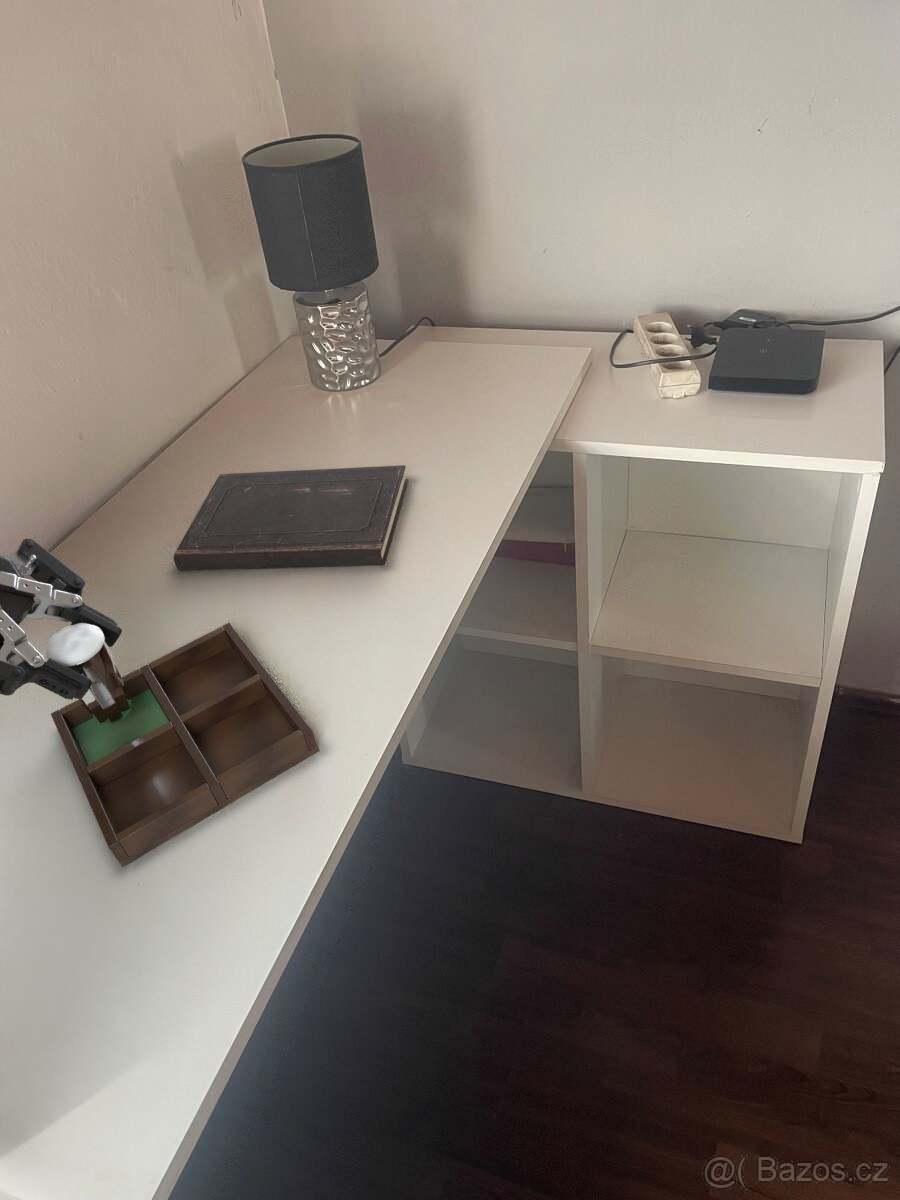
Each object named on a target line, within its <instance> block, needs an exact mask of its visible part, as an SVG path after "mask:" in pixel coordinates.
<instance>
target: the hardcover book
mask: <svg viewBox="0 0 900 1200" xmlns="http://www.w3.org/2000/svg"><path fill="white" fill-rule="evenodd" d="M406 468H407V467H406V465H383V466H382V465H381V466H380V465H379V466H363V467H362V466H361V467H360V466H359V467H341V468H339V467H338V468H324V469H323V468H321V469H298V470H278V471H277V470H276V471H259V472H258V471H255V472H239V473H238V472H236V473H235V472H233V473H219V474H218V476H217V478H216V480H215V481H214V483H213V485H212V486H211V488H210V490H209V492H208V494H207V495H206V497H205V499H204V501H203V502H202V504H201V505H200V508H199V509H198V511H197V513H196V514H195V517H194V518H193V520H192V522H191V523H190V525H189V527H188V529H187V531H186V532H185V534H184V536H183V537H182V539H181V541H180V542H179V544H178V547H177V548H176V550H175V552H174V553H173V562H174V565H175V567H176V569H177V570H178V571H181V572H183V571H220V570H221V571H222V570H223V571H224V570H258V569H259V570H261V569H262V570H263V569H294V568H295V569H296V568H297V569H298V568H299V569H300V568H302V569H303V568H334V567H337V568H339V567H370V566H371V567H373V566H375V567H377V566H378V567H379V566H385V565H386V563H387V562H386V561H387V558H388V555H389V551H390V548H391V544H392V541H393V537H394V534H395V530H396V527H397V523H398V519H399V516H400V512H401V508H402V505H403V501H404V498H405V496H406V495H405V494H406V492H407V491H406V490H407V487H408V484H409V479H406V478H405V475H404V474H405V471H406Z"/></svg>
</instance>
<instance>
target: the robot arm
mask: <svg viewBox="0 0 900 1200" xmlns="http://www.w3.org/2000/svg"><path fill="white" fill-rule="evenodd" d="M27 575H28V576H29V577H31V578H32V579H28V578H24V577H26V576H27ZM23 576H24V577H23ZM85 586H86V581H85V579H84V578H83V577H81V575H79V574H77V573H76V572H75V571H74V570H72V569H71V568H70V567H69V566H68V565H66V564H65V563H64V562H62V561H61V560H60V559H58V558H57V557H56V556H55V555H53V554H52V553H51V552H49V550H47V549H46V548H45V547H43V546H42V545H41V544H39V543H38V542H37V541H36V540H34V539H32V538H24V539H23V540H22V541H21V542H20V545H19V546H18V547H17V549H16V550H15V551H13V552H11V554H9V555H8V556H4V555H0V695H3V696H5V697H6V696H7V697H8V696H12V695H13V694H15V692H16V691H17V690H18V689H20V688H21V687H23V686H24V685H26V684H35V685H38V686H40V687H41V688H43V689H46V690H48V691H49V692H51V693H53V694H56V695H58V696H59V697H61V698H63V699H66V700H70V701H71V700H73V699H76V700H78V699H82V698H83V697H84V695H85V694H86V693H87V691H88V690H89V688H90V687H91V685H92V681H91V680H90V679H89V678H87V677H85V676H84V675H82V674H80V673H78V672H76V671H74V670H72V669H70V668H68V667H66V666H64V665H62V664H60V663H59V662H57V661H55V660H53V659H51V658H49V659H48V660H46V659H45V658H44V657H45V656H44V655H43V654H41V652H40V651H38V650H37V649H36V648H35V646H33V645H32V643H31V642H30V641H29V639H28V636H27V634H26V632H25V631H24V630H23V629H22V628H21V627H20V625H21V624H22V622H24V620H25V618H27V619H32V620H41V619H49V620H54V621H59V622H64V623H70V625H75V624H79V623H87V624H91V625H95V626H97V627H99V628H100V629H101V630H102V632H103V634H104V636H105V639H106V642H107V644H108V647H109V648H112V647H113V646H114V645H115V643H117V641H118V639H119V638H120V636H121V634H122V632H123V629H122V628H121V627H120V626H119V624H118V623H117V622H116V620H114V619H113V618H111V617H109V616H107V615H106V614H104V613H102V612H100V611H99V610H97V609H94V608H93V607H91V606H89V605H88V604H86V603H85V602H84V600H83V589H84V588H85ZM42 655H43V656H44V657H43V656H42Z"/></svg>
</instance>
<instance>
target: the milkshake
mask: <svg viewBox="0 0 900 1200" xmlns="http://www.w3.org/2000/svg"><path fill="white" fill-rule="evenodd" d="M45 650H46V651H45V655H43V654H41V655H42V656H43V657H44V659H45V661H48V659H49V658H51V659H53V660H55V661H57V662H59V663H60V664H62V665H64V666H66V667H68V668H70V669H72V670H74V671H76V672H78V673H80V674H82V675H84V676H85V677H87V678H89V679H90V680H91V681H92V685H91V687H90V688H89V690H88V691H87V693H86V694H85V695H84V697H83V698H82V699H80V701H81V702H82V703H83V705H84V706H85V707H86V709H87V710H88V711H89V713H90V714H91V715H92V717H93V718H94V719H95V720H96V721H98V722H99V723H100V724H114V723H115V722H117V721H119V720H122V719H124V718H125V716H126V715H127V714H128V713H129V712H130V710H131V699H130V696H129V694H128V692H127V689H126V687H125V685H124V682H123V680H122V675H121V674H120V671H119V669H118V667H117V664H116V661H115V660H114V657H113V655H112V652H111V649H110V647H108V644H107V642H106V639H105V636H104V634H103V632H102V630H101V629H100V628H99V627H97V626H95V625H91V624H87V623H79V624H75V625H71V624H70V625H66V626H64V627H63V628H61V629H59V630H58V631H56V632H55V633H53V634H52V635H51V636H50V637H49V639H48V641H47V645H46V649H45Z"/></svg>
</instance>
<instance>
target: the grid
mask: <svg viewBox="0 0 900 1200" xmlns="http://www.w3.org/2000/svg"><path fill="white" fill-rule="evenodd" d="M121 678H122V680H123V682H124V685H125V687H126V689H127V692H128V694H129V696H130V699H131V710H130V712H129V713H128V714H127V715H126V716H125V718H124V719H122V720H119V721H117V722H115V723H114V724H100V723H99V722H98V721H96V720H95V719H94V718H93V717H92V715H91V714H90V713H89V711H88V710H87V709H86V707H85V706H84V705H83V703H82V702H81V701H80V699H76V700H75V701H73V702H71V703H69V704H67V705H64V706H63V707H61V708H59V709H57V710H55V711H53V712H51V713H50V716H51V718H52V721H53V723H54V725H55V728H56V730H57V732H58V734H59V737H60V739H61V741H62V743H63V744H62V745H63V746H64V749H65V750H66V753H67V755H68V757H69V760H70V762H71V765H72V767H73V769H74V771H75V774H76V776H77V778H78V781H79V784H80V785H81V788H82V790H83V792H84V795H85V797H86V800H87V802H88V804H89V806H90V809H91V811H92V813H93V815H94V818H95V819H96V823H97V825H98V827H99V829H100V832H101V834H102V836H103V839H104V841H105V844H106V845H107V848H108V849H109V851H110V852H111V854H112V855H113V856H114V858H115V860H116V861H117V862H118V863H119V865H120V866H121V868H124V867H127V866H128V865H129V864H131V863H134V862H135V861H136V860H137V859H140V858H142V857H143V856H145V855H146V854H148V853H150V852H151V851H154V850H155V849H157V848H158V847H160V846H162V845H163V844H166V843H167V842H168V841H170V840H172V839H173V838H175V837H176V836H178V835H181V834H182V833H184V832H185V831H187V830H188V829H191V828H192V827H194V826H195V825H197V824H199V823H200V822H202V821H204V820H205V819H208V818H209V817H211V816H212V815H214V814H216V813H217V812H220V811H221V810H222V809H224V808H226V807H227V806H229V805H231V804H232V803H234V802H236V801H238V800H239V799H242V798H243V797H244V796H246V795H248V794H250V793H252V792H253V791H254V790H255V791H256V789H258V788H260V787H261V786H264V784H267V783H268V782H270V781H272V780H273V779H275V778H276V777H278V776H280V775H282V774H284V773H285V772H286V771H288V770H290V769H292V768H293V767H295V766H297V765H298V764H300V763H302V762H304V761H306V760H307V759H309V758H310V757H312V756H313V755H315V754H317V753H319V752H320V748H319V745H318V743H317V740H316V737H315V734H314V732H313V729H312V728H311V727H310V725H309V723H308V722H306V720H305V718H304V717H303V716H302V715H301V713H300V712H299V711H298V709H297V708H296V707H295V705H294V704H293V703H292V701H290V699H289V698H288V696H287V695H286V694H285V692H283V690H282V688H281V687H280V686H279V685H278V684H277V681H275V679H274V678H273V677H272V676H271V674H270V673H269V671H268V670H267V669H266V668H265V667H264V665H263V664H262V662H261V661H260V660H259V658H258V657H257V656H256V655H255V654H254V652H253V651H252V649H251V648H250V647H249V645H248V644H247V643H246V642H245V640H244V639H243V638H242V636H241V635H240V634H239V632H238V631H237V630H236V629H235V627H234V626H233V624H232V623H231V622H230V621H229V622H227V623H225V624H223V625H222V626H220V627H217V628H215V629H214V630H212V631H210V632H208V633H205V634H203V635H202V636H200V637H198V638H195V639H194V640H192V641H190V642H188V643H186V644H184V645H181V646H180V647H179V648H176V649H175V650H173V651H170V652H168V653H166V654H165V655H163V656H161V657H159V658H157V659H154V660H153V661H151V662H149V663H147V664H145V665H143V666H141V667H140V668H137V669H135V670H134V671H131V672H129V673H128V674H126V675H124V676H121Z"/></svg>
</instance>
